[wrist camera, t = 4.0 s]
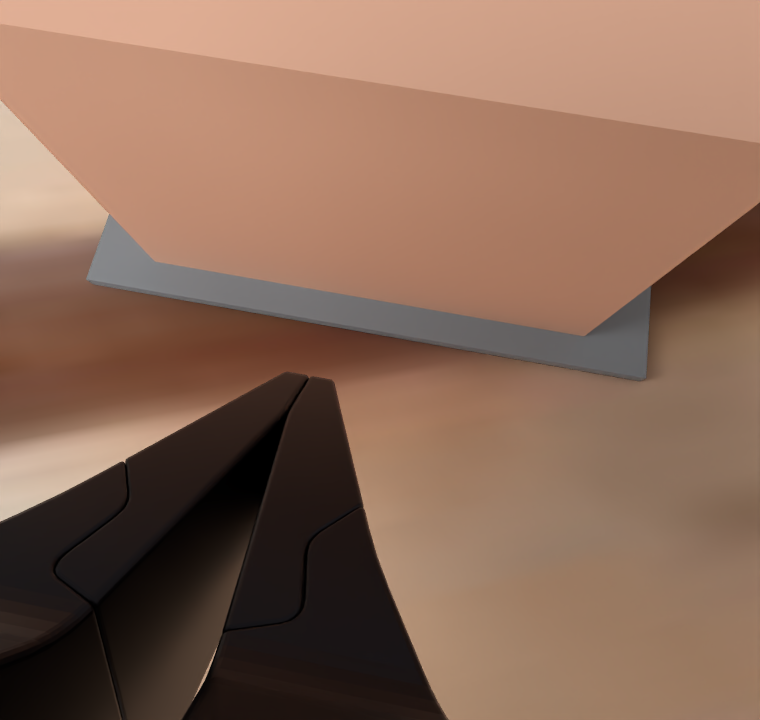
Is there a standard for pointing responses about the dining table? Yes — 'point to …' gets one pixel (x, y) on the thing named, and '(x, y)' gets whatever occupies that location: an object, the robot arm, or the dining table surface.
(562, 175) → the t block
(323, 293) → the mat
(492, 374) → the dining table surface
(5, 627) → the robot arm
